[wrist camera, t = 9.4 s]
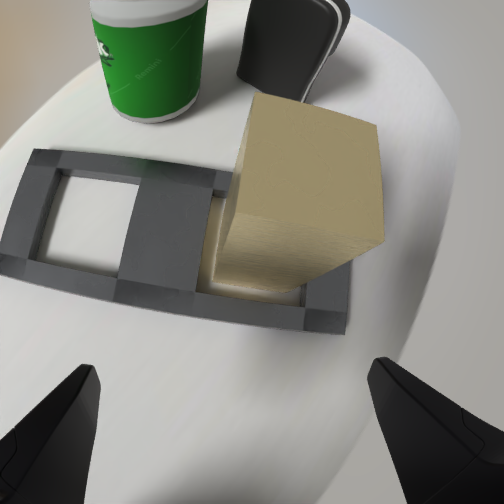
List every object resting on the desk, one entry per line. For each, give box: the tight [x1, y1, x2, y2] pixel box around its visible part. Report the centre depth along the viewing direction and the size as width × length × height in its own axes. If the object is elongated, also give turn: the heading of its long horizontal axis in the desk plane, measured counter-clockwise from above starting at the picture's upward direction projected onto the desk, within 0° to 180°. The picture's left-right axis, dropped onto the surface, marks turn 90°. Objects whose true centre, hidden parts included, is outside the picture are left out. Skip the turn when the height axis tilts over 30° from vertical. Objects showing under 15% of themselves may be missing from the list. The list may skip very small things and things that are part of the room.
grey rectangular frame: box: [0, 149, 349, 335], centre depth 20 cm, size 10×25×1 cm, turn 83°
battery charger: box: [237, 0, 350, 103], centre depth 21 cm, size 7×4×11 cm, turn 52°
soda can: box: [90, 0, 208, 123], centre depth 18 cm, size 8×8×12 cm
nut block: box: [212, 92, 384, 293], centre depth 16 cm, size 5×5×12 cm
